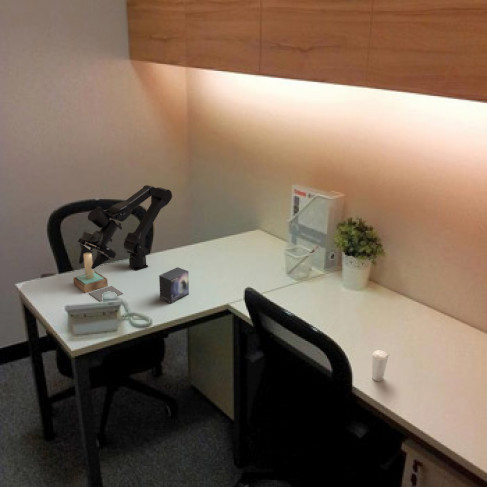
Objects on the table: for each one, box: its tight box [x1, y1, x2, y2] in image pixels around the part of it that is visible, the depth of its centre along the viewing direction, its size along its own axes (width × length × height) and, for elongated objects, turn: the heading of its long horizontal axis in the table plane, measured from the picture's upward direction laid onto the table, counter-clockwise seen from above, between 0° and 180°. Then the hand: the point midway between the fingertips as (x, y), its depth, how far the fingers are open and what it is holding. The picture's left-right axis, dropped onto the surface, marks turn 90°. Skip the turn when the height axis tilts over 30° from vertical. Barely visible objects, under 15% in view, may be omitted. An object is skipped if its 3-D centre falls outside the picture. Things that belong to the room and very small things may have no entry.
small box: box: [158, 266, 190, 305], centre depth 212 cm, size 11×6×10 cm, turn 143°
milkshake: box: [371, 349, 390, 382], centre depth 162 cm, size 4×5×10 cm
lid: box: [75, 252, 104, 285], centre depth 220 cm, size 8×8×12 cm
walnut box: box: [72, 270, 109, 294], centre depth 222 cm, size 10×10×3 cm
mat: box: [88, 285, 124, 302], centre depth 215 cm, size 10×9×1 cm
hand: (85, 266), depth 218 cm, fingers open, 8 cm apart
